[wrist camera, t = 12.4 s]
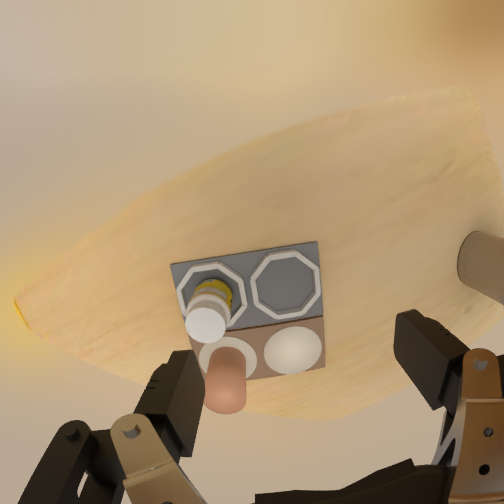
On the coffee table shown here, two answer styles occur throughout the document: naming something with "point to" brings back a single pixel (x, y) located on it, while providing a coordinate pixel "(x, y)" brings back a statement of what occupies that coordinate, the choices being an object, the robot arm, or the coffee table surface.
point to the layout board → (258, 319)
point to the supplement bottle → (209, 310)
